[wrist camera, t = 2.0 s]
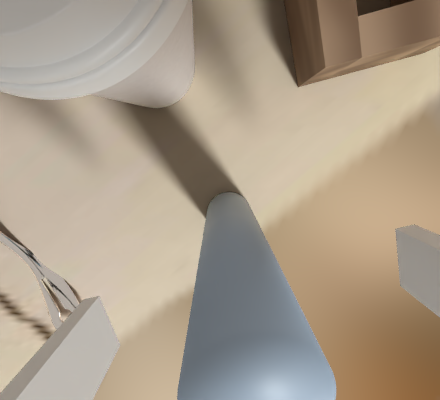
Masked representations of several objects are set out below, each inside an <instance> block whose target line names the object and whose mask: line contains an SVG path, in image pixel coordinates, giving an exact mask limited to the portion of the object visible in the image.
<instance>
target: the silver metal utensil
mask: <svg viewBox="0 0 440 400" xmlns="http://www.w3.org/2000/svg"><path fill="white" fill-rule="evenodd" d="M0 242H1V243H2V244H4V245H5V246H6V247H8V248H9V249H10V250H12V251H13V252H14V253H15V254H16V255H17V256H18V257H19V258H21V259H22V260H23V261H24V262H25V264H26V265H27V266H28V267H29V269H30V270H31V271H32V273H33V275H34V277H35V279H36V281H37V283H38V286H39V288H40V291H41V294H42V296H43V299H44V302H45V305H46V308H47V311H48V314H49V316H50V319H51V321H52V323H53V325H54V326H55V328H56V329H58V328H59V327H60V325H61V324H62V323H63V322H64V321H63V320H62V319H61V311H60V309H59V308H58V306H57V304H56V303H55V301H54V299H53V298H52V296H51V294H50V293H49V291H48V289H47V288H46V286H45V284H44V283H43V281H42V279H43V278H45V277H46V279H47V280H48V282H49V284H50V285H51V287H52V288H53V290H54V292H55V293H56V295H57V297H58V298H59V300H60V302H61V303H62V305H63V307H64V308H65V309H68V310H70V311H71V312H73V311H74V310H75V308H76V307H77V306H78V305H79V302H78V300H77V298H76V296H75V294H74V293H73V291H72V290H71V288H70V287H69V286H68V284H67V283H66V282H65V280H64V279H63V278H62V277H61V276H59V275H57V274H56V273H54V272H52V271H51V270H50V269H48V268H47V267H46V266H44V265H43V264H42V263H41V262H40V261H39V260H38V259H37V258H36V257H35V256H34V254H33V253H32V252H31V251H29V250H28V249H26V248H25V247H23V246H22V245H20V244H19V243H17V242H15V241H14V240H12V239H11V238H9V237H8V236H6V235H5V234H4V233H2V232H1V231H0Z"/></svg>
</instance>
